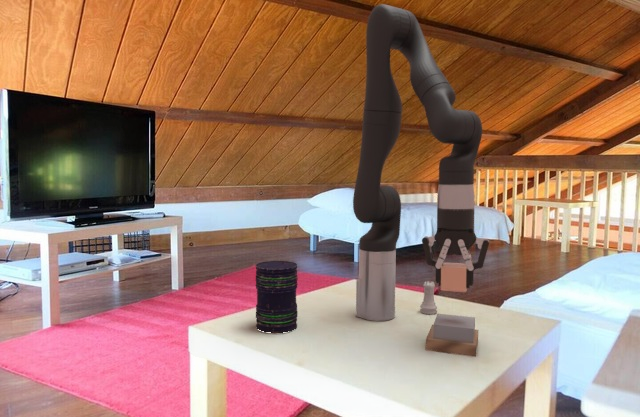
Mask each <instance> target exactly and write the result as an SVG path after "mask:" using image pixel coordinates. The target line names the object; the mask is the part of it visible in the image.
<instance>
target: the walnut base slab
mask: <svg viewBox="0 0 640 417" xmlns="http://www.w3.org/2000/svg"><path fill="white" fill-rule="evenodd" d="M478 344H479V329H475V333H474V342H473V343H467V342H458V341H450V340H442V339H433V324H431V326H430V328H429V330H428V333H427V336H426V338H425V351H428V352H437V353H446V354H451V355H458V356H459V355H461V356H467V357H474V358H476V357H477V354H478V353H477V352H478Z"/></svg>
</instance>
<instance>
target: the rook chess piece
mask: <svg viewBox="0 0 640 417" xmlns="http://www.w3.org/2000/svg"><path fill="white" fill-rule="evenodd" d="M422 287H423V289H424V290H423V301H422V302H421V304H420V309H419V311H420V313H421V314H424V315H435V314H436V315H437V313H438V310H437V309H438V305H436V302H435V294H434V293H435V290H434V289H435V288H436V285H435V281H429V280H427V281H424V282H423V285H422Z"/></svg>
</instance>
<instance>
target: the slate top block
mask: <svg viewBox="0 0 640 417" xmlns="http://www.w3.org/2000/svg"><path fill="white" fill-rule="evenodd" d="M432 325H433V339H442V340H450V341H458V342H467V343H473V342H474V333H475V330H476V329H475V328H476V317H474V316H467V315H465V316H464V315H455V314H446V313H436V316H435V318H434V322H433V324H432Z"/></svg>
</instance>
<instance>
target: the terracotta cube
mask: <svg viewBox="0 0 640 417" xmlns="http://www.w3.org/2000/svg"><path fill="white" fill-rule="evenodd" d="M466 279H467V265H466V263H460V262H459V263H457V262H445V261H444V262H443V264H442V266H441V286H440V291H445V292H446V291H447V292H457V293H467V290H468V288H466Z"/></svg>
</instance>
